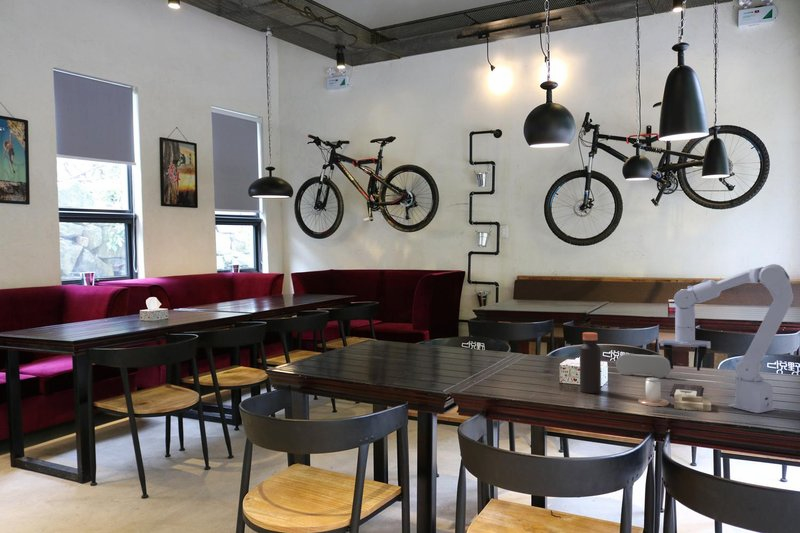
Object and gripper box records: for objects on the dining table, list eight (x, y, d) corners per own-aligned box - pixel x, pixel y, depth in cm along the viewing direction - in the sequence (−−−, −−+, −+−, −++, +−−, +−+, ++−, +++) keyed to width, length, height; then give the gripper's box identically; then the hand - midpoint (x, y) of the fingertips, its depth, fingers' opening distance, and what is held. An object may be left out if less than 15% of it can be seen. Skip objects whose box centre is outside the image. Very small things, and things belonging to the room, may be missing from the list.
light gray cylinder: (663, 401, 194) (663, 379, 194) (653, 403, 192) (653, 381, 192) (652, 398, 198) (652, 376, 198) (642, 400, 196) (642, 378, 196)
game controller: (671, 377, 231) (671, 355, 231) (670, 379, 229) (670, 356, 229) (616, 373, 240) (616, 352, 240) (615, 374, 238) (615, 353, 238)
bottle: (600, 394, 207) (600, 334, 206) (579, 393, 209) (579, 334, 209) (601, 389, 213) (600, 332, 213) (580, 388, 216) (580, 331, 215)
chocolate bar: (702, 385, 215) (700, 397, 199) (702, 388, 215) (700, 400, 199) (674, 383, 219) (669, 394, 203) (674, 386, 219) (669, 397, 203)
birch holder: (709, 403, 193) (709, 397, 193) (711, 411, 184) (711, 405, 184) (674, 400, 197) (674, 394, 197) (674, 408, 188) (674, 402, 188)
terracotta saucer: (675, 404, 193) (675, 402, 193) (655, 407, 189) (655, 406, 189) (651, 397, 201) (651, 396, 201) (631, 401, 197) (631, 399, 197)
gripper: (660, 327, 197) (660, 370, 197) (711, 329, 191) (710, 373, 191) (660, 324, 203) (660, 366, 203) (710, 326, 197) (709, 369, 198)
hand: (685, 369), depth 198 cm, fingers open, 7 cm apart
